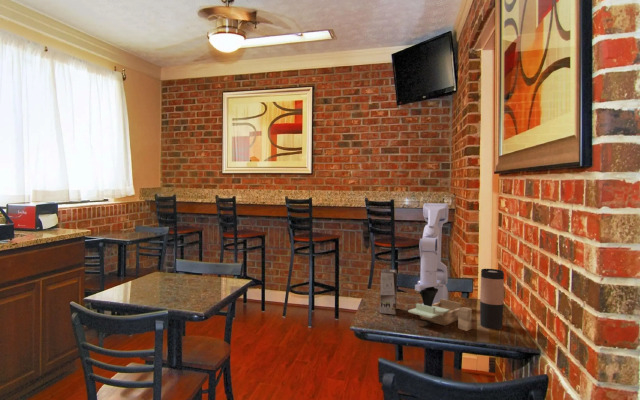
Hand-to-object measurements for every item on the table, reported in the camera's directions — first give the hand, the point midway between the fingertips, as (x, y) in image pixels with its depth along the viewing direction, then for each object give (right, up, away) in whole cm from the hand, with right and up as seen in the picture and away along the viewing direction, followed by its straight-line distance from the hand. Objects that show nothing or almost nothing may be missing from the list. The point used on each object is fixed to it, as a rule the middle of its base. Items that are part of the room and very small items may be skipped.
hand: (427, 308), depth 136 cm
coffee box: (-12, -6, +15) cm, 20 cm away
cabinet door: (+1, -1, +1) cm, 2 cm away
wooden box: (+7, -6, +7) cm, 12 cm away
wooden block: (+12, -6, -4) cm, 14 cm away
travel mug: (+23, -7, 0) cm, 24 cm away
